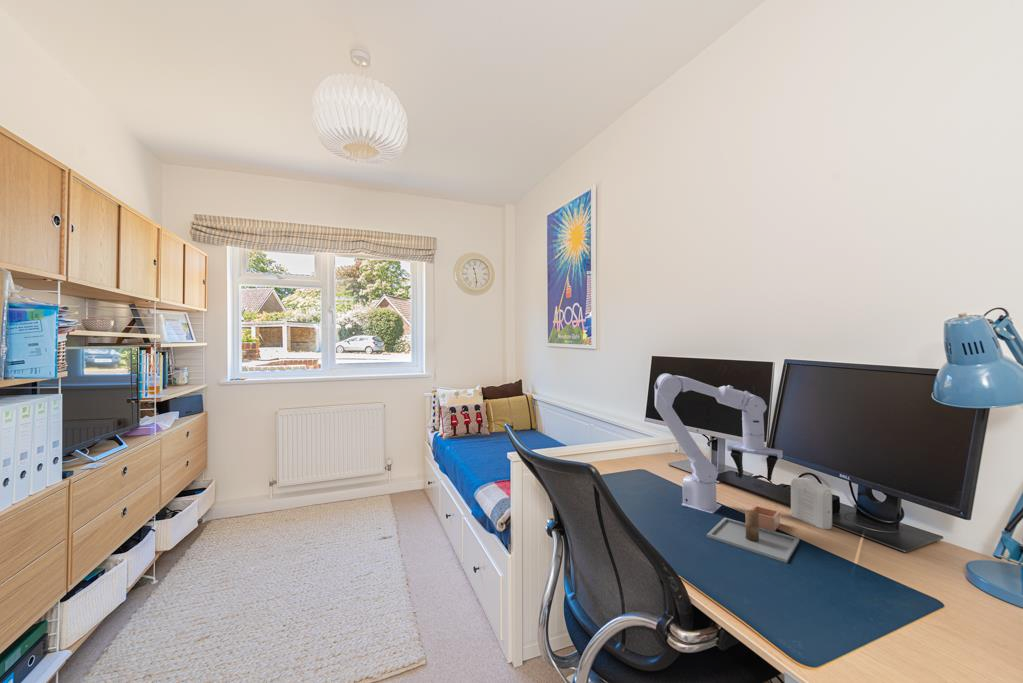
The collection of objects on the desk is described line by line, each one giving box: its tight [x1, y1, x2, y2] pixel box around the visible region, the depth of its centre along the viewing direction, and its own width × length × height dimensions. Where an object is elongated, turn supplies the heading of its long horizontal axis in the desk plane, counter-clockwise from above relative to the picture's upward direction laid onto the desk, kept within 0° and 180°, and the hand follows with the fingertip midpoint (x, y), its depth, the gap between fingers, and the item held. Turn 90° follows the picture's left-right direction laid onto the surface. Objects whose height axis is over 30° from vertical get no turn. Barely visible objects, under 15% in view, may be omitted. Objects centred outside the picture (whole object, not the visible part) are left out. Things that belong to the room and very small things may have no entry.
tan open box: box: [750, 504, 781, 532], centre depth 113 cm, size 6×6×4 cm
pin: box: [744, 509, 759, 542], centre depth 105 cm, size 3×3×7 cm
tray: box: [706, 517, 800, 564], centre depth 105 cm, size 18×14×1 cm
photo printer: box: [790, 477, 833, 530], centre depth 114 cm, size 10×4×12 cm, turn 17°
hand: (754, 477), depth 123 cm, fingers open, 7 cm apart
